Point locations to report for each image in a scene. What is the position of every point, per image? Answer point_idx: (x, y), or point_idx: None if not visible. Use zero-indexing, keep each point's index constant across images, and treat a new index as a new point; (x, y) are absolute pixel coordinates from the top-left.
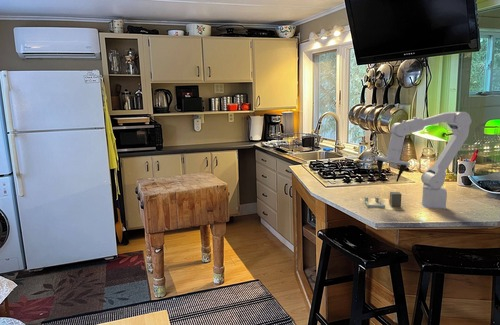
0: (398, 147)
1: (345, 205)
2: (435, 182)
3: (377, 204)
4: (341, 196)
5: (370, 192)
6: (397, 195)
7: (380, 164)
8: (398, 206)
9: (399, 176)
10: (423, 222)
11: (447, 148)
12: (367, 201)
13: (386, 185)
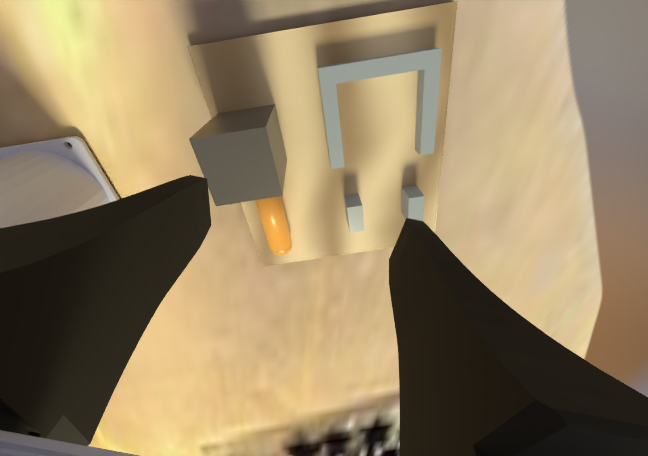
0: None
1: (546, 105)
2: None
3: (356, 144)
4: (501, 265)
5: (358, 338)
6: (224, 130)
7: (557, 380)
8: (231, 112)
9: (130, 196)
10: None
11: None
12: (405, 187)
13: (291, 412)
